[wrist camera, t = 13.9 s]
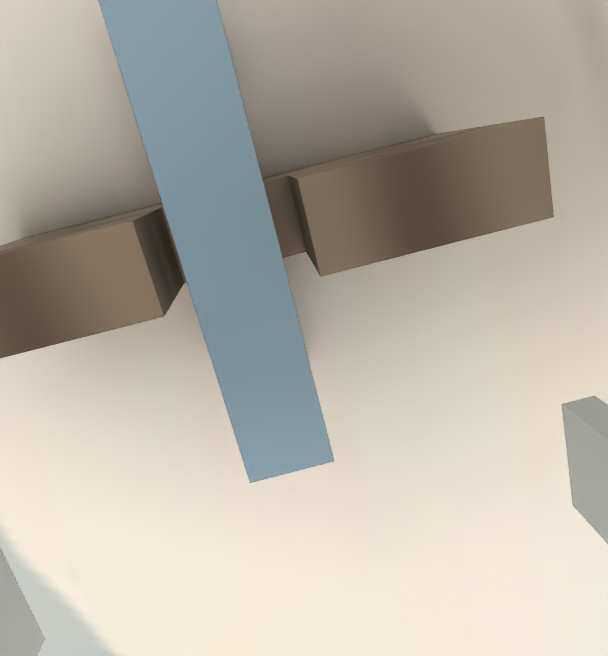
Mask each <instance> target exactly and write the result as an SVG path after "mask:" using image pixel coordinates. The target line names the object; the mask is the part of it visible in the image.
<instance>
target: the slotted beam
mask: <svg viewBox="0 0 608 656" xmlns="http://www.w3.org/2000/svg"><path fill="white" fill-rule="evenodd" d="M262 180H263V184H264V188H265V192H266V196H267V199H268V203H269V207H270V211H271V215H272V219H273V223H274V227H275V231H276V235H277V239H278V242H279V246H280V250H281V254H282V258H283V257H287V256H291V255H295V254H299V253H303V252H307V254H308V255H309V257H310V259H311V261H312V262H313V264H314V266H315V267H316V269H317V271H318V273H319V274H320V276H324V275H328V274H332V273H336V272H340V271H344V270H348V269H352V268H356V267H360V266H364V265H368V264H371V263H375V262H379V261H383V260H387V259H391V258H395V257H399V256H403V255H407V254H411V253H415V252H418V251H422V250H426V249H430V248H434V247H438V246H442V245H446V244H450V243H454V242H458V241H462V240H465V239H469V238H473V237H477V236H481V235H485V234H489V233H493V232H497V231H501V230H505V229H508V228H512V227H516V226H520V225H524V224H528V223H532V222H536V221H540V220H544V219H548V218H552V217H554V215H553V204H552V194H551V184H550V174H549V163H548V153H547V143H546V133H545V123H544V117H539V118H533V119H527V120H521V121H514V122H508V123H502V124H496V125H490V126H483V127H477V128H471V129H465V130H459V131H453V132H446V133H440V134H435V135H431V136H427V137H423V138H419V139H415V140H411V141H407V142H403V143H399V144H395V145H391V146H388V147H384V148H380V149H376V150H372V151H368V152H364V153H360V154H356V155H352V156H348V157H344V158H340V159H336V160H332V161H328V162H324V163H320V164H316V165H312V166H308V167H304V168H301V169H297V170H293V171H289V172H285V173H281V174H277V175H273V176H269V177H265V178H262ZM185 282H187V281H186V278H185V274H184V271H183V268H182V265H181V262H180V258H179V255H178V252H177V249H176V246H175V243H174V239H173V236H172V233H171V230H170V227H169V223H168V220H167V217H166V214H165V211H164V208H163V204H158V205H154V206H150V207H146V208H142V209H138V210H134V211H131V212H127V213H123V214H119V215H115V216H111V217H107V218H103V219H99V220H95V221H91V222H87V223H83V224H79V225H75V226H71V227H67V228H63V229H59V230H55V231H51V232H48V233H44V234H40V235H36V236H32V237H28V238H24V239H20V240H17V241H14V242H11V243H8V244H5V245H2V246H0V358H3V357H7V356H11V355H15V354H19V353H23V352H27V351H31V350H35V349H39V348H42V347H46V346H50V345H54V344H58V343H62V342H66V341H70V340H74V339H78V338H82V337H86V336H89V335H93V334H97V333H101V332H105V331H109V330H113V329H117V328H121V327H125V326H129V325H133V324H136V323H140V322H144V321H148V320H152V319H156V318H160V317H164V316H165V314H166V312H167V311H168V309H169V307H170V306H171V304H172V302H173V301H174V299H175V297H176V296H177V294H178V292H179V291H180V289H181V287H182V286H183V284H184V283H185Z"/></svg>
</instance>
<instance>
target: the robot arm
mask: <svg viewBox="0 0 608 656" xmlns="http://www.w3.org/2000/svg"><path fill="white" fill-rule="evenodd" d="M562 411H563V420H564V430H565V439H566V448H567V457H568V466H569V476H570V485H571V494H572V503H573V506H574V507H575V508H576V510H577V511H578V512H579V513H580V514H581V515H582V516H583V517H584V518H585V519H586V521H587V522H588V523H589V524H590V525H591V526H592V527H593V528H594V529H595V530H596V531H597V533H598V534H599V535H600V536H601V537H602V538H603V539H604V540H605V541H606V542H607V544H608V405H607V404H606V403H604V402H603V401H601V400H600V399H598V398H597V397H596V396H592V397H588V398H584V399H580V400H576V401H572V402H568V403H564V404H562ZM44 640H45V638H44V636H43V634H42V631H41V629H40V627H39V625H38V623H37V621H36V619H35V617H34V615H33V613H32V611H31V609H30V607H29V605H28V603H27V601H26V599H25V597H24V595H23V593H22V591H21V589H20V587H19V585H18V583H17V581H16V578H15V576H14V575H13V572H12V570H11V568H10V566H9V564H8V562H7V560H6V558H5V556H4V554H3V552H2V550H1V548H0V656H37V655H38V653H39V651H40V649H41V646H42V644H43V642H44Z"/></svg>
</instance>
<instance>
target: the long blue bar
mask: <svg viewBox="0 0 608 656" xmlns="http://www.w3.org/2000/svg"><path fill="white" fill-rule="evenodd" d="M98 1H99V4H100V7H101V10H102V13H103V17H104V20H105V23H106V26H107V29H108V33H109V36H110V39H111V42H112V45H113V48H114V52H115V55H116V58H117V61H118V64H119V68H120V71H121V74H122V77H123V80H124V83H125V87H126V90H127V93H128V96H129V99H130V103H131V106H132V109H133V112H134V115H135V118H136V122H137V125H138V128H139V131H140V134H141V138H142V141H143V144H144V147H145V150H146V153H147V157H148V160H149V163H150V166H151V169H152V173H153V176H154V179H155V182H156V185H157V188H158V192H159V195H160V198H161V201H162V204H163V208H164V211H165V214H166V217H167V220H168V223H169V227H170V230H171V233H172V236H173V239H174V243H175V246H176V249H177V252H178V255H179V258H180V262H181V265H182V268H183V271H184V274H185V278H186V281H187V284H188V287H189V290H190V293H191V297H192V300H193V303H194V306H195V309H196V313H197V316H198V319H199V322H200V325H201V328H202V332H203V335H204V338H205V341H206V344H207V348H208V351H209V354H210V357H211V360H212V363H213V367H214V370H215V373H216V376H217V379H218V383H219V386H220V389H221V392H222V395H223V398H224V402H225V405H226V408H227V411H228V414H229V418H230V421H231V424H232V427H233V430H234V433H235V437H236V440H237V443H238V446H239V449H240V453H241V456H242V459H243V462H244V465H245V468H246V472H247V475H248V478H249V481H250V483H252V482H256V481H260V480H263V479H267V478H271V477H275V476H279V475H283V474H286V473H290V472H294V471H298V470H302V469H306V468H310V467H313V466H317V465H321V464H325V463H329V462H333V461H334V458H333V454H332V450H331V446H330V442H329V438H328V434H327V430H326V426H325V423H324V419H323V415H322V411H321V407H320V403H319V399H318V395H317V391H316V387H315V383H314V379H313V376H312V372H311V368H310V364H309V360H308V356H307V352H306V348H305V344H304V340H303V336H302V333H301V329H300V325H299V321H298V317H297V313H296V309H295V305H294V301H293V297H292V293H291V289H290V286H289V282H288V278H287V274H286V270H285V266H284V262H283V258H282V254H281V250H280V246H279V242H278V239H277V235H276V231H275V227H274V223H273V219H272V215H271V211H270V207H269V203H268V199H267V196H266V192H265V188H264V184H263V180H262V176H261V172H260V168H259V164H258V160H257V156H256V152H255V149H254V145H253V141H252V137H251V133H250V129H249V125H248V121H247V117H246V113H245V109H244V106H243V102H242V98H241V94H240V90H239V86H238V82H237V78H236V74H235V70H234V66H233V62H232V59H231V55H230V51H229V47H228V43H227V39H226V35H225V31H224V27H223V23H222V19H221V15H220V12H219V8H218V4H217V0H98Z"/></svg>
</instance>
